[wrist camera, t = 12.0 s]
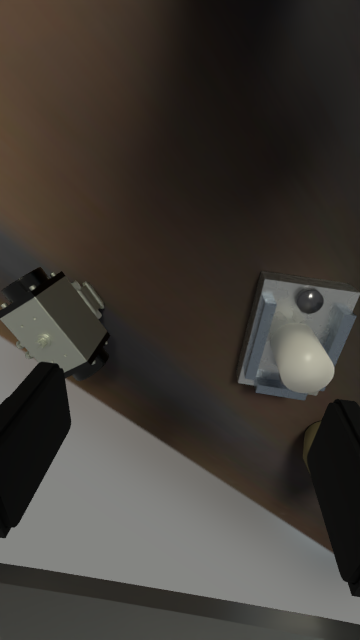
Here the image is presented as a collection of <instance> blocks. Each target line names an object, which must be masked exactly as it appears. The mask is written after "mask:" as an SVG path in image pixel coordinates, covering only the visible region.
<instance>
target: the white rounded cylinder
mask: <svg viewBox="0 0 360 640" xmlns="http://www.w3.org/2000/svg"><path fill="white" fill-rule="evenodd" d="M271 349H272V352H273V355H274V358H275V361H276V364H277V367H278V370H279V375H278V376H279V379H280V382H281V384H284V385H285V386H286V387H287V388H288V389H290V390H292V391H294V392H298V393H312V392H315V391H318V390H320V389H322V388H324V387H325V386H326V385H328V383H329V382H330V381H331V380H332V378H333V375H334V365H333V363H332V361H331V359H330V358H329V356H328V355H327V353H326V351H325V350H324V348H323V347H322V345H321V343H320V342H319V340H318V338H317V337H316V335H315V334H314V332H313V331H312V329H311V328H310V327H308V326H307V325H304V324H301V323H289V324H286V325H283V326H281V327H280V328H279V329H277V330H276V331H275V333H274V334H273V336H272V338H271Z"/></svg>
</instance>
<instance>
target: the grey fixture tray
mask: <svg viewBox="0 0 360 640" xmlns="http://www.w3.org/2000/svg"><path fill="white" fill-rule="evenodd" d="M359 295H360V292H359V291H357V290H356V289H355V288H354V287H352V286H351V285H350V284H349V283H342V282H336V281H329V280H322V279H315V278H308V277H301V276H294V275H287V274H280V273H273V272H266V271H261V273H260V277H259V281H258V285H257V289H256V293H255V297H254V301H253V305H252V309H251V313H250V317H249V321H248V325H247V329H246V333H245V337H244V341H243V345H242V349H241V353H240V357H239V361H238V365H237V369H236V370H237V379H238V383H241V384H248V385H254V387H255V393H261V394H268V395H274V396H280V397H286V398H293V399H299V400H305V399H306V396H307V394H310V395H316V396H317V394H318V392H319V391H324V390H325V388H326V386H325V387H324V388H322V389H320V390H318V391H315V392H312V393H298V392H294V391H292V390H290V389H288V388H287V387H286V386H285V385H284V384H281V382H280V379H279V376H278V375H279V370H278V367H277V364H276V361H275V358H274V355H273V352H272V349H271V338H272V336H273V334H274V333H275V331H276V330H277V329H279V328H280V327H281V326H283V325H286V324H289V323H301V324H304V325H307V326H308V327H310V328H311V329H312V331H313V332H314V334H315V335H316V337H317V338H318V340H319V342H320V343H321V345H322V347H323V348H324V350H325V351H326V353H327V355H328V356H329V358H330V359H331V361H332V363H333V365H334V367H335V365H336V362H337V360H338V358H339V355H340V353H341V351H342V348H343V346H344V344H345V341H346V339H347V337H348V335H349V332H350V330H351V328H352V325H353V323H354V321H355V318H356V315H355V314H354V313H353V312H352V311H353V309H354V307H355V304H356V302H357V300H358V297H359Z"/></svg>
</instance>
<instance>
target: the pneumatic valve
mask: <svg viewBox="0 0 360 640" xmlns="http://www.w3.org/2000/svg"><path fill="white" fill-rule="evenodd" d="M50 276H51V277H52V278H49V277H48V276H47V274H46V273H45V272H44V271H43V269H42V268H41V267H39V268H37V269H35V270H33V271H31V272H30V273H28V274H26V275H25V276H23V277H21V278H20V279H18V280H16V281H15V282H13V283H12V284H10V285H9V286H7V287H6V288H4V289H3V290H2V291H1V293H2V294H3V295H4V296H5V297H6V299H7V300H8V301H9V302H10V305H8V304H7V303H4V304H3V305H1V307H2V308H3V309H2V310H0V320H1V321H2V322H3V323H4V324H5V325H6V326H7V327H8V329H9V330H10V331H11V332H12V333H13V334H14V335H15V336H16V338H17V339H18V340H19V341H18V342H17V343H16V346H17V348H19V349H22V348H24V347H25V348H26V349H27V350H28V351H27V352H26V354H25V356H26V358H28V359H31V358H33V357H34V358H35V359H36V360H37V361H38V362H39V363H40V362H50V363H57V364H58V365H59V367H60V368H62V369H63V370H64V376H65V378H67V377H69V376H71V375H72V376H73V377H74V378H75V379H76V380H77V381H81V380H84V379H86V378H88V377H90V376H91V375H93V374H94V373H96V372H97V371H98V370H99V369H100V368H101V367H102V366H103V365H104V364H105V363H106V362H107V360H108V358H109V354H108V353H107V352H106V351H105V349H104V348H103V346H104V345H106V344H108V342H107V340H108V338H109V337H110V335H109V333H108V332H107V331H106V329H105V328H104V327H103V325H102V324H101V323H100V321H99V320H98V319H100V318H101V316H102V314H101V313H100V312H99V310H98V309H99V308H100V309H103V308H104V305H103V304H104V302H103V301H102V299H101V298H100V297H99V295H98V294H97V292H96V291H95V290H94V288H93V287H92V286H91V284H90V283H88V282H86V281H85V282H84V283H82V284H83V286H82V287H81V286H80V285H79V283H78V282H77V281H74V282H72V283H70V281H69V280H68V279H67V277H66V276H65V275H64V273H63V272H62V271H61V272H60V273H58V274H57V275H56V273H55V272H53V273H52V274H50ZM64 276H65V277H64Z"/></svg>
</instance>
